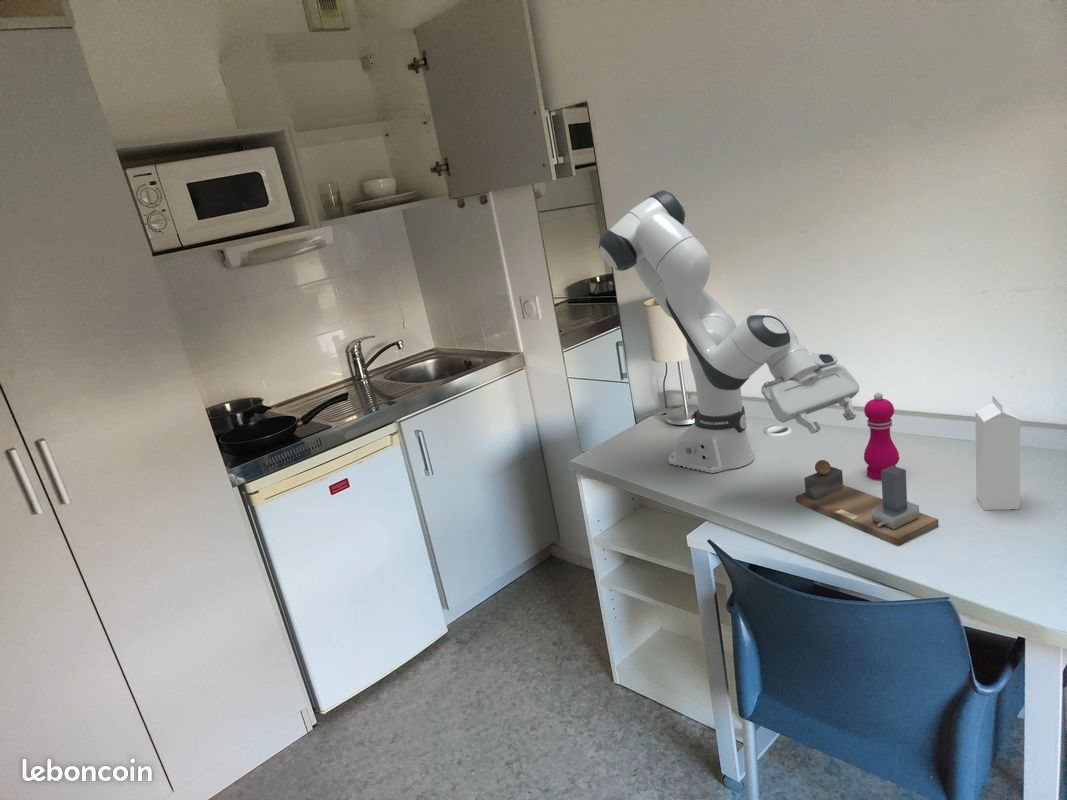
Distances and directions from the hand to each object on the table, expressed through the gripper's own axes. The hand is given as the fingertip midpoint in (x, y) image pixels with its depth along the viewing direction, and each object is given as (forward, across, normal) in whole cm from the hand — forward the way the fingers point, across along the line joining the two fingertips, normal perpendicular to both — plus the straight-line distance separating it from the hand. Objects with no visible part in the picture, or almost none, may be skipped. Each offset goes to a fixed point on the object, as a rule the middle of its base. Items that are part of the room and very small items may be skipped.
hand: (834, 425), depth 141 cm
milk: (+26, +23, +2) cm, 35 cm away
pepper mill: (+9, +18, +18) cm, 28 cm away
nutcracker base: (+17, +2, +11) cm, 20 cm away
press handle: (+21, +1, +4) cm, 21 cm away
